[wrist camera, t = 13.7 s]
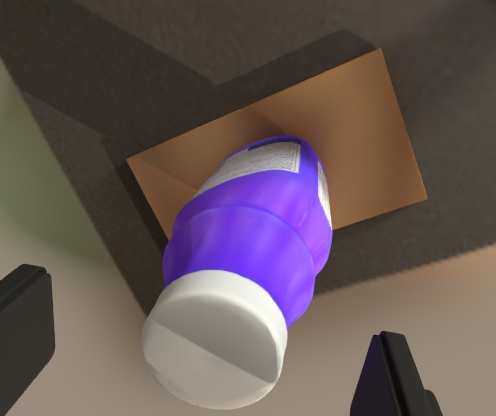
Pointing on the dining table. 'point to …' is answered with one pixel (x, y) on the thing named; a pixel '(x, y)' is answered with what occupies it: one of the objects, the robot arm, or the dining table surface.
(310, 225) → the bottle
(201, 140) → the mat
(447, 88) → the dining table surface
